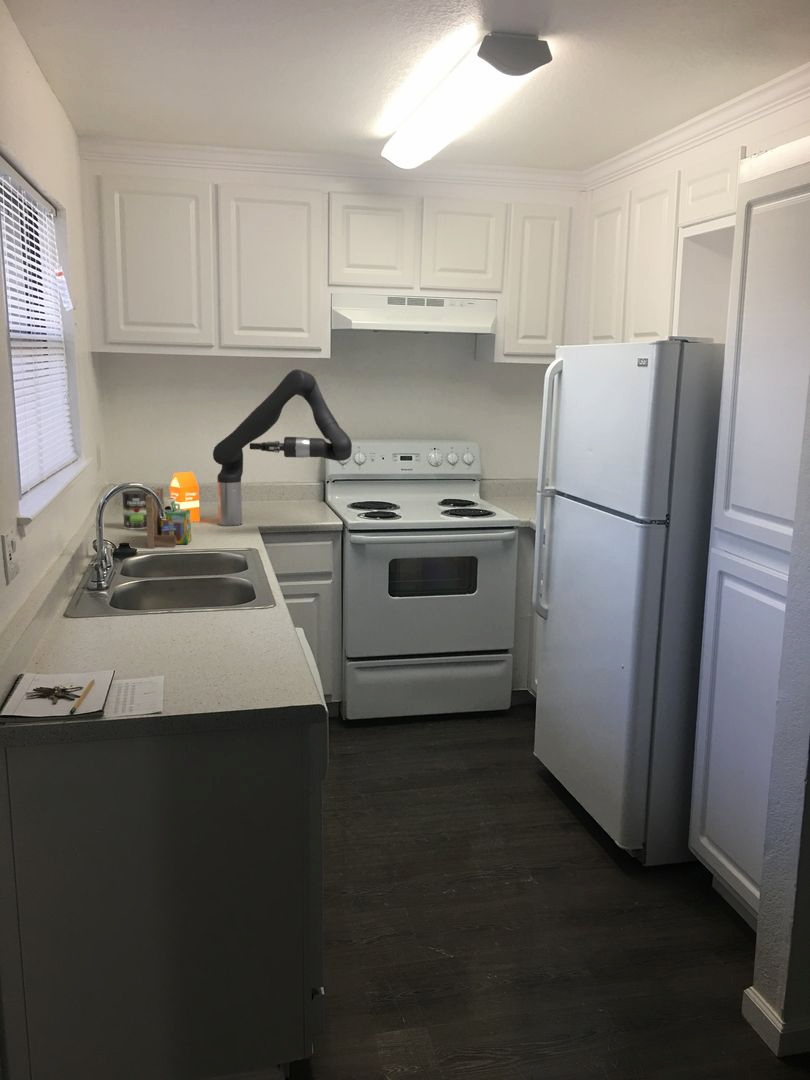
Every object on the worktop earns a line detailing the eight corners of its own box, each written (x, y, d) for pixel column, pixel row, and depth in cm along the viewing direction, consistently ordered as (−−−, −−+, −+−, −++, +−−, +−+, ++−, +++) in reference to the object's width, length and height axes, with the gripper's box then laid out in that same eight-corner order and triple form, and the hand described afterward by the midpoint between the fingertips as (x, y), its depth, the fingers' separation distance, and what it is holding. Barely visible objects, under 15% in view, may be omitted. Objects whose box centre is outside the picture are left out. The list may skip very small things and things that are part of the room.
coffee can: (151, 529, 334) (149, 493, 332) (123, 530, 332) (121, 493, 329) (151, 525, 344) (150, 489, 342) (124, 526, 342) (122, 490, 339)
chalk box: (187, 545, 305) (185, 503, 302) (161, 545, 304) (159, 503, 302) (192, 540, 314) (190, 499, 311) (166, 540, 313) (165, 499, 311)
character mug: (149, 534, 325) (148, 499, 322) (154, 530, 332) (153, 497, 329) (178, 534, 325) (177, 500, 323) (183, 531, 332) (182, 497, 330)
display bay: (159, 536, 320) (157, 488, 316) (184, 536, 320) (182, 488, 317) (147, 548, 298) (145, 496, 295) (174, 548, 299) (172, 496, 296)
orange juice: (170, 521, 354) (168, 472, 350) (189, 518, 360) (187, 471, 356) (181, 523, 348) (179, 474, 345) (200, 521, 355) (198, 472, 351)
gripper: (298, 435, 324) (251, 434, 323) (296, 438, 311) (247, 437, 310) (298, 455, 325) (251, 454, 324) (296, 459, 312) (247, 458, 311)
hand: (249, 446), depth 317 cm, fingers closed
